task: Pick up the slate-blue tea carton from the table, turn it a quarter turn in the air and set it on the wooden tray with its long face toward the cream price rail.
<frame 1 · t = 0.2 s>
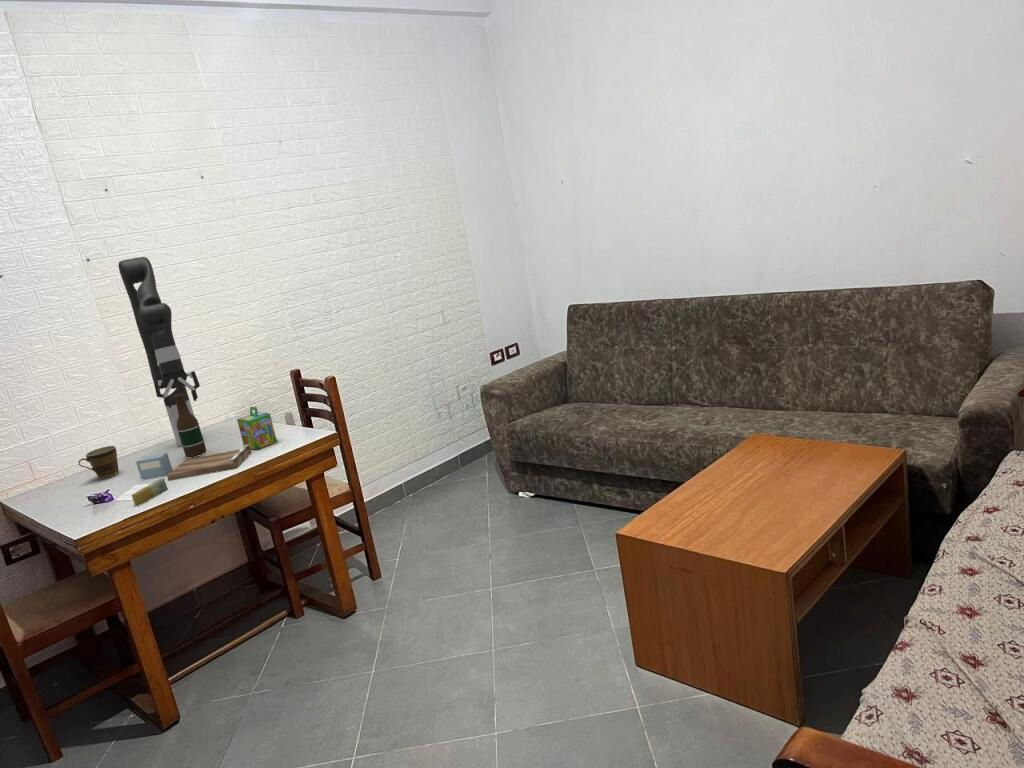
hand: (182, 404, 261), 22 cm above the table, tool pointing down, fingers open, 8 cm apart
beer bottle: (196, 455, 278), on the table
wooden tray: (211, 466, 259), on the table
ceramic cup: (104, 478, 270), on the table
medication box: (151, 498, 237), on the table
tea carton: (157, 475, 260), on the table
colorful gift box: (261, 445, 274), on the table
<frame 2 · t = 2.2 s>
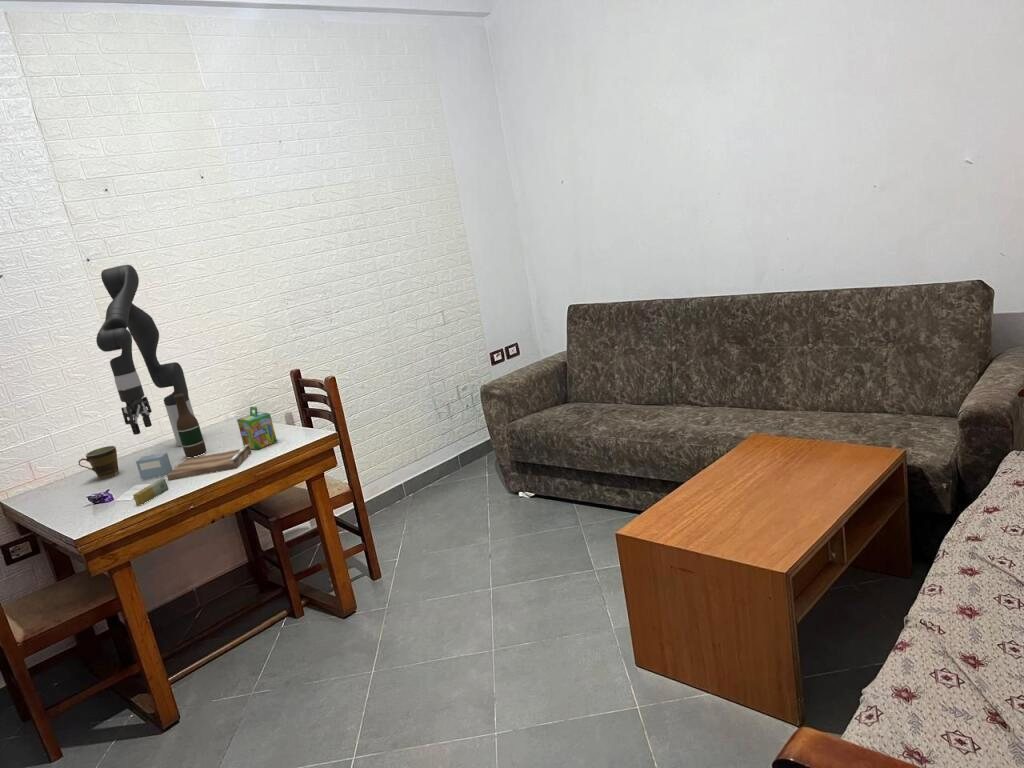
hand: (143, 430, 256), 17 cm above the table, tool pointing down, fingers open, 8 cm apart
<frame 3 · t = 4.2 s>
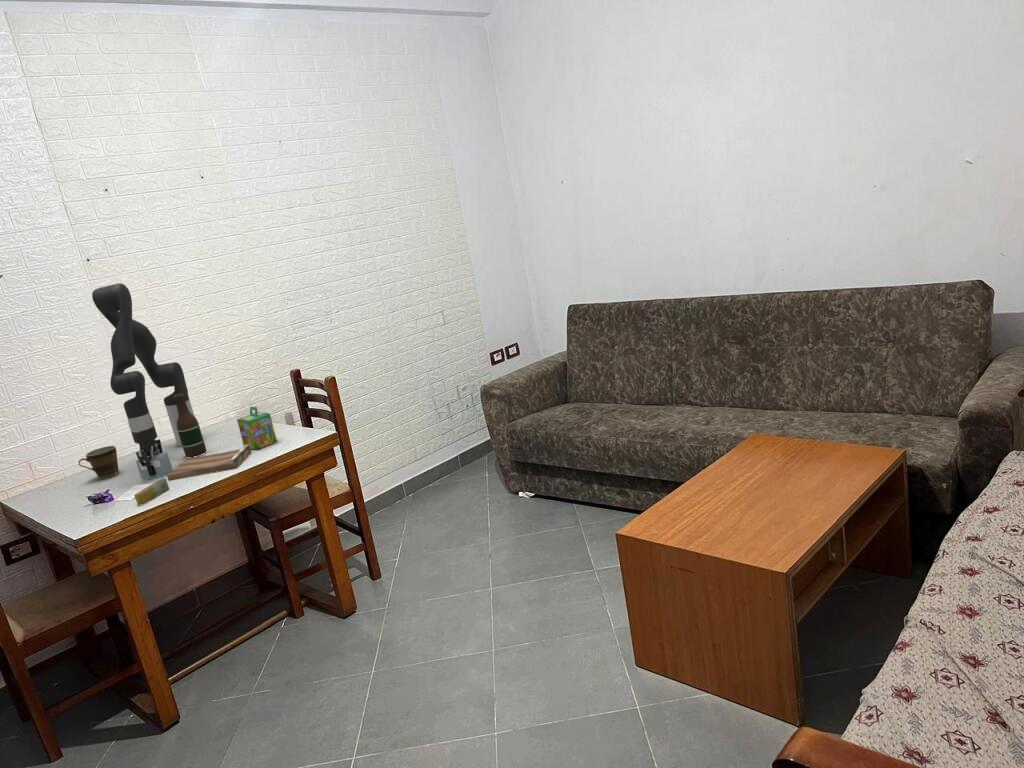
hand: (156, 472, 260), 1 cm above the table, tool pointing down, fingers closed on tea carton, 5 cm apart
tea carton: (157, 475, 260), on the table, touching gripper
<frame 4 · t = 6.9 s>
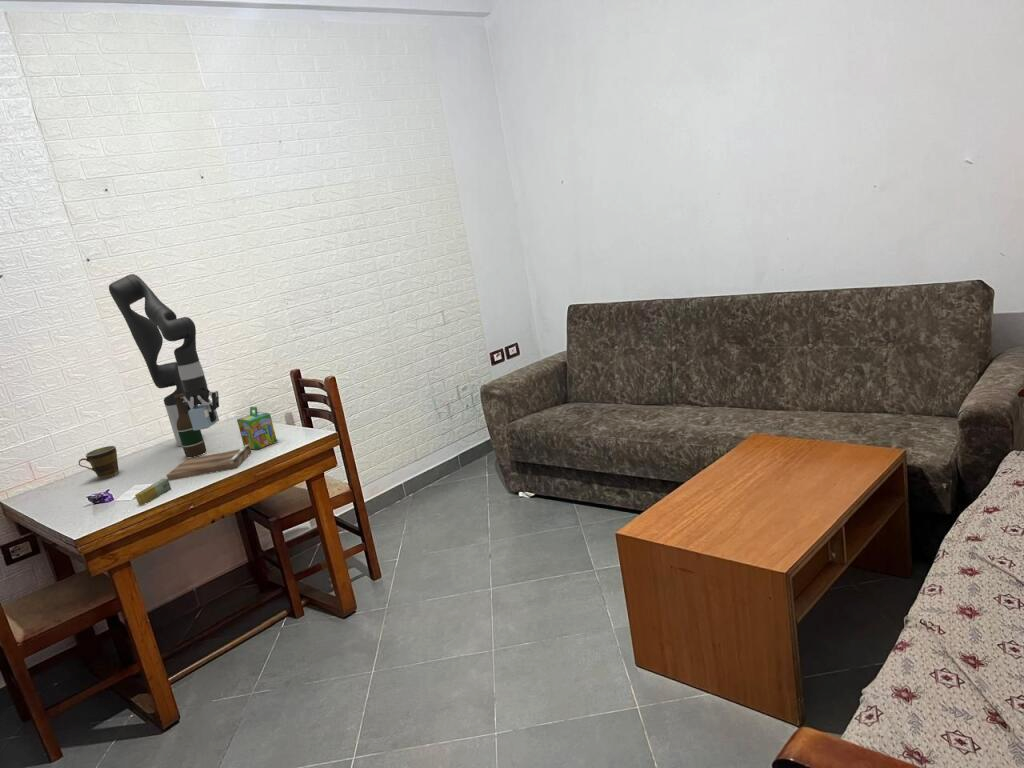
hand: (206, 422, 255), 16 cm above the table, tool pointing down, fingers closed on tea carton, 5 cm apart
tea carton: (206, 425, 255), point 15 cm above the table, touching gripper
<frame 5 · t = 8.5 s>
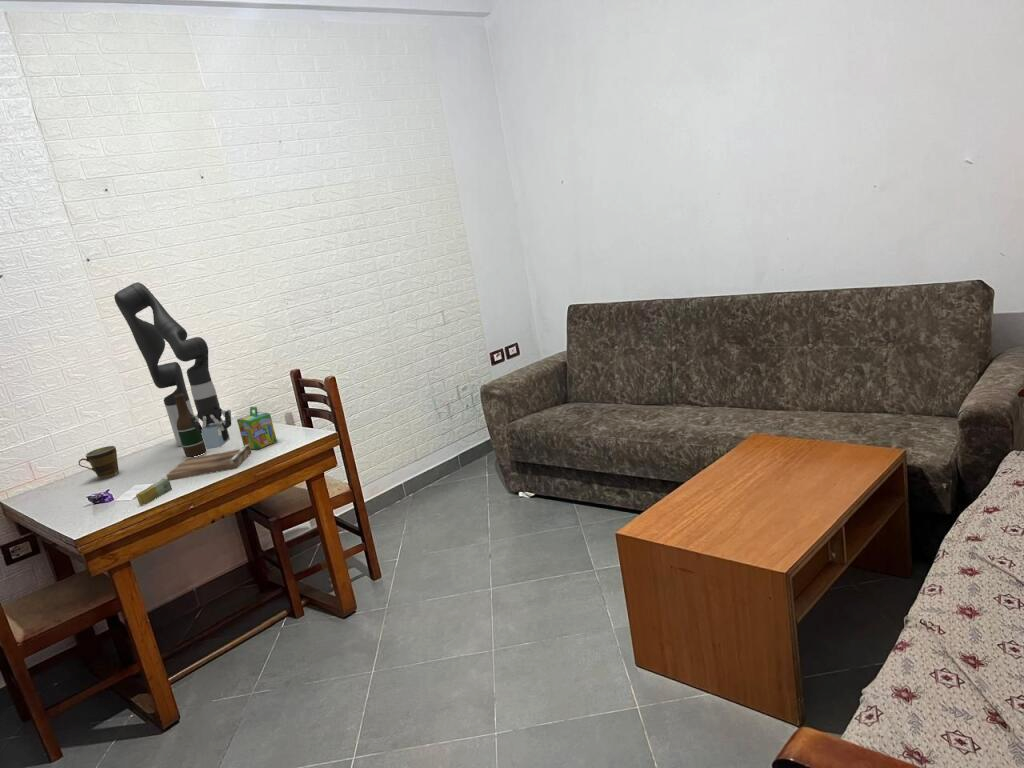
hand: (218, 441, 257), 9 cm above the table, tool pointing down, fingers closed on tea carton, 5 cm apart
tea carton: (218, 444, 257), point 7 cm above the table, touching gripper
when the fingers open (4 cm above the table, at t = 9.8 s): tea carton stays where it is, resting on wooden tray.
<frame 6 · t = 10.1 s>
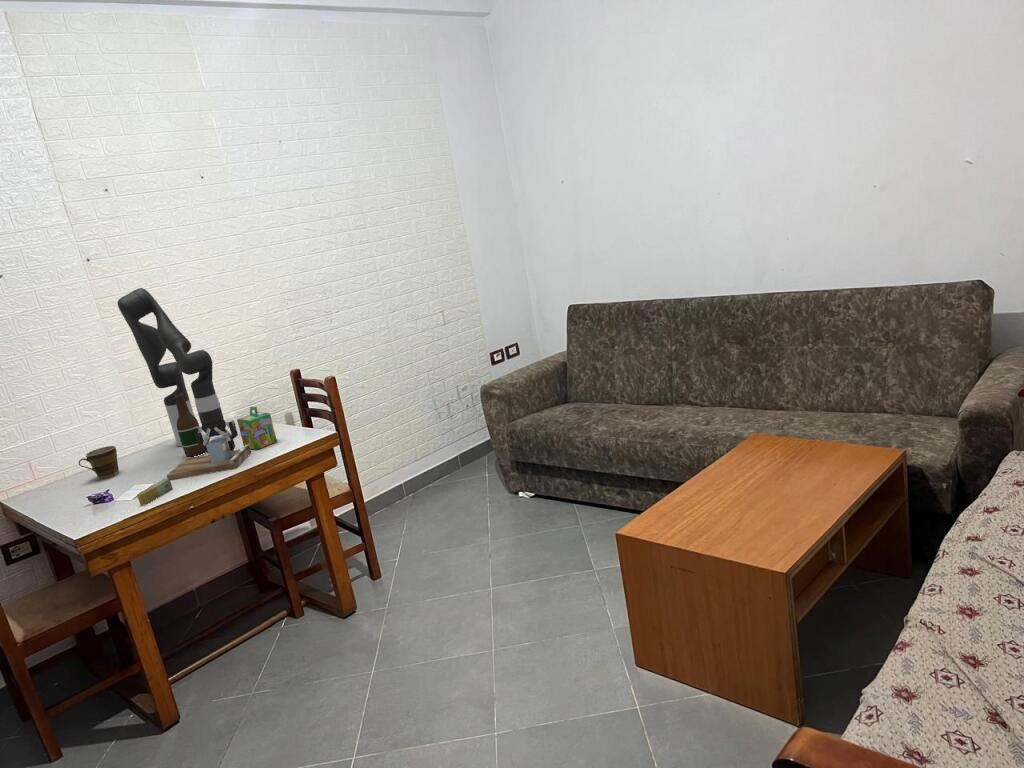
hand: (221, 452, 258), 4 cm above the table, tool pointing down, fingers open, 7 cm apart
tea carton: (223, 458, 258), point 2 cm above the table, touching wooden tray
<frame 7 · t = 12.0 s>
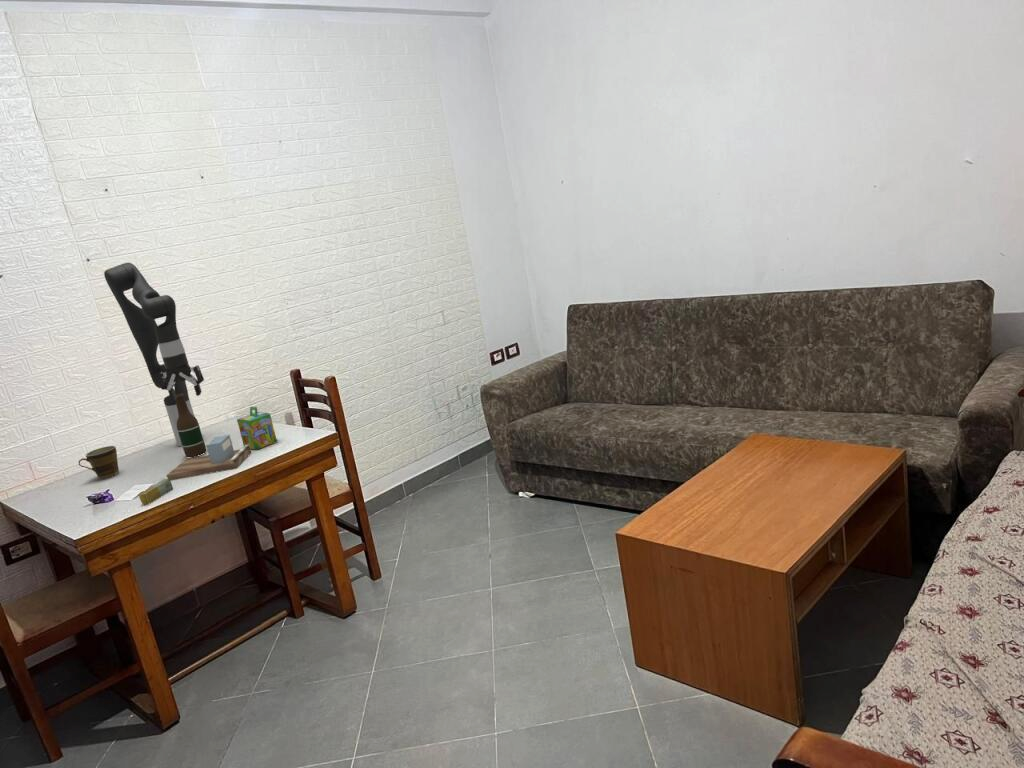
hand: (186, 397, 259), 25 cm above the table, tool pointing down, fingers open, 8 cm apart
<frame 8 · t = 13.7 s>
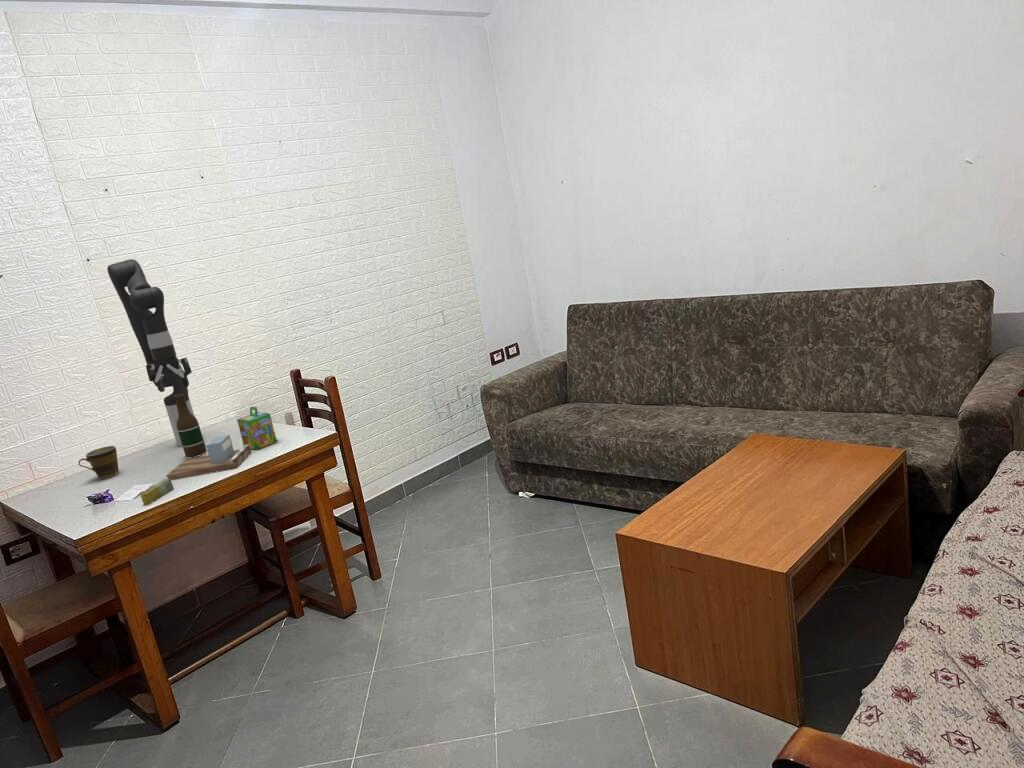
hand: (174, 389, 259), 28 cm above the table, tool pointing down, fingers open, 8 cm apart
at the end: tea carton inside the target area (0.1 cm from its centre), point 2.0 cm above the table; tea carton tilted 0°; the gripper is holding nothing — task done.
